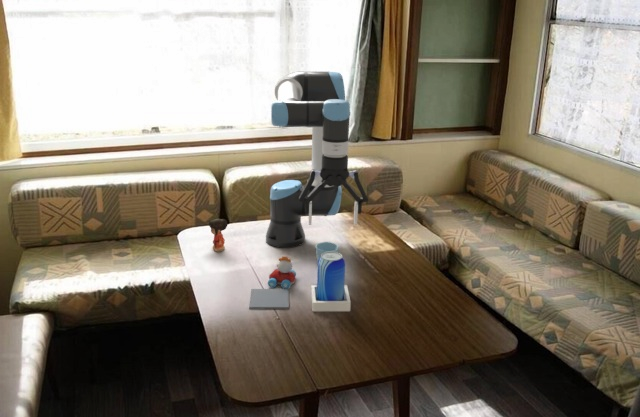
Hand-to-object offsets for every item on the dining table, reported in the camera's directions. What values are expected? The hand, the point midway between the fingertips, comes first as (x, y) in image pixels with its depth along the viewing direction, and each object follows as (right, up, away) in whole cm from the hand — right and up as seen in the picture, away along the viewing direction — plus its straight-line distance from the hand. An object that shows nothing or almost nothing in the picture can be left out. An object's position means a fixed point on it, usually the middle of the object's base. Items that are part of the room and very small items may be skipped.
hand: (332, 223), depth 185 cm
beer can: (-1, -25, +9) cm, 27 cm away
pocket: (-1, -25, +9) cm, 27 cm away
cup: (-2, -18, +28) cm, 33 cm away
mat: (-20, -24, +10) cm, 33 cm away
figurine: (-42, -11, +46) cm, 63 cm away
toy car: (-16, -20, +21) cm, 34 cm away
